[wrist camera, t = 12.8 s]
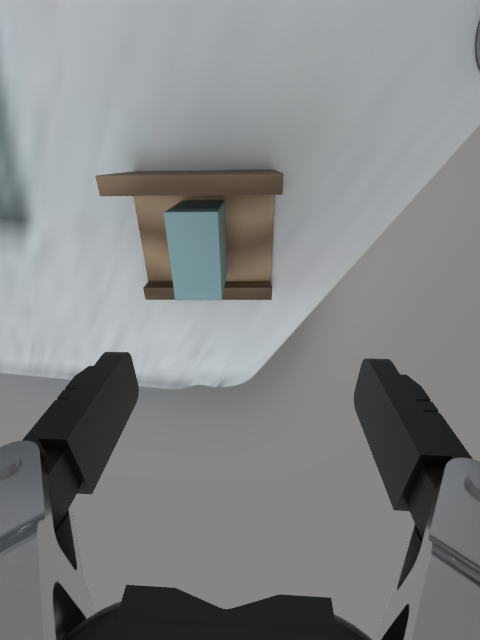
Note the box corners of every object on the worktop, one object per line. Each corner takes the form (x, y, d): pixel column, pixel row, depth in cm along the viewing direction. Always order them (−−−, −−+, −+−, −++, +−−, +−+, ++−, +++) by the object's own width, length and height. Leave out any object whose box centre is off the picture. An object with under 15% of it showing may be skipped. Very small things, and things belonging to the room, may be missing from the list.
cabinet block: (182, 200, 31) (163, 212, 24) (224, 199, 31) (217, 212, 24) (189, 271, 35) (175, 300, 28) (227, 271, 35) (221, 300, 28)
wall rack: (134, 171, 31) (95, 175, 23) (274, 170, 31) (283, 173, 23) (153, 288, 38) (129, 322, 30) (269, 288, 37) (275, 322, 29)
